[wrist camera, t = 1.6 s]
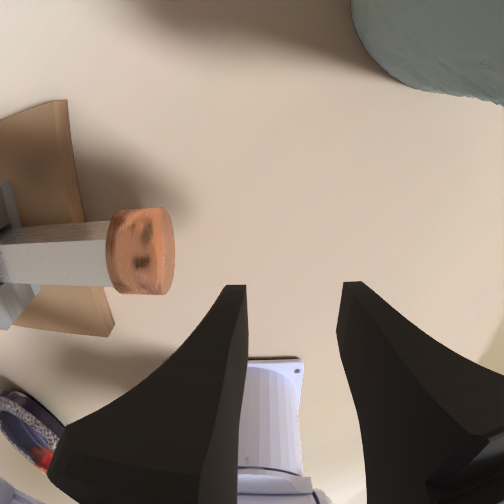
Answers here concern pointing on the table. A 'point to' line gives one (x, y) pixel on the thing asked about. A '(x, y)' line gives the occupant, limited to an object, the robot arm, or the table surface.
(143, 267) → the shaft
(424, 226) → the table surface
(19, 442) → the dish
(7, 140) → the stand
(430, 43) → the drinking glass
